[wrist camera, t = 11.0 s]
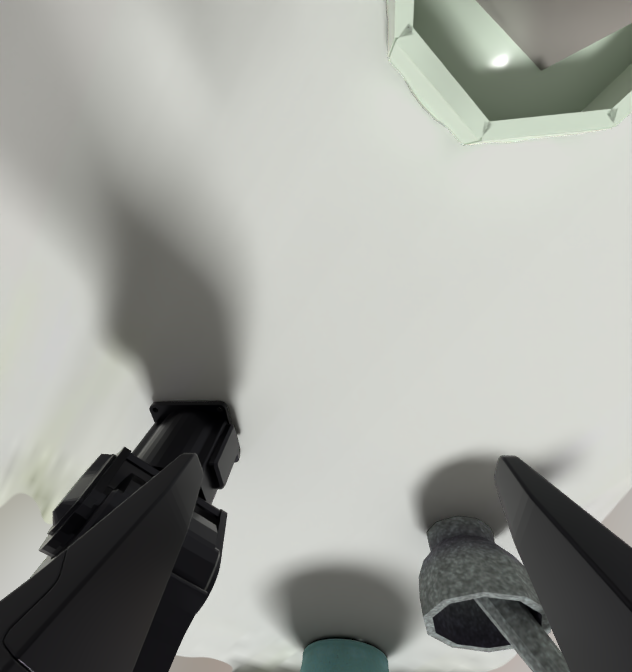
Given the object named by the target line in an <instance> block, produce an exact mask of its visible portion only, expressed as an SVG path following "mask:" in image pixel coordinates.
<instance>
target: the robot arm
mask: <svg viewBox="0 0 632 672" xmlns="http://www.w3.org/2000/svg"><path fill="white" fill-rule="evenodd" d="M219 407H221V408H222V409H221V408H219ZM150 412H151V414H152V417H153V419H154V422H155V423H154V425H153V426H152V427H151V429H150V430H149V431H148V433H147V434H146V435H145V437H144V438H143V439H142V440H141V442H140V443H139V444H138V446H137V447H136V448H135V450H134V451H133V452H132V453H131V450H129V449H127V448H126V447H124V448H123V449H122V450H121V451H120V452H119V453H118V454H117V455H115V454H112V455H109V454H101V455H100V456H99V457H98V458H97V459H96V460H95V462H94V463H93V464H92V465H91V466H90V467H89V468H88V470H87V471H86V472H85V473H84V474H83V475H82V476H81V478H80V479H79V480H78V481H77V482H76V483H75V485H74V486H73V487H72V488H71V490H70V491H69V492H68V493H67V495H66V496H65V497H64V498H63V500H62V501H61V502H60V503H59V504H58V506H57V507H56V508H55V509H54V511H53V526H52V527H51V529H50V530H49V532H48V537H47V538H46V540H45V541H44V543H43V544H42V545H41V547H40V549H39V551H40V552H43V553H45V554H46V555H48V556H47V558H46V559H45V560H44V561H43V563H42V564H41V565H40V566H39V567H38V569H37V570H36V571H35V572H34V574H33V575H32V576H31V577H30V579H29V580H27V581H26V582H25V583H23V584H22V585H21V586H20V587H18V588H17V589H16V590H14V591H13V592H12V593H10V594H9V595H8V596H6V597H5V598H4V599H2V600H1V601H0V672H168V671H169V669H170V667H171V664H172V662H173V660H174V657H175V655H176V653H177V650H178V648H179V646H180V644H181V641H182V639H183V637H184V635H185V633H186V631H187V629H188V627H189V625H190V623H191V622H192V620H193V618H194V616H195V615H196V614H197V612H198V611H199V610H200V608H201V607H202V606H203V604H204V603H205V601H206V599H207V598H208V596H209V594H210V592H211V590H212V588H213V586H214V583H215V581H216V578H217V575H218V572H219V568H220V563H221V556H222V549H223V541H224V534H225V527H226V519H227V513H226V512H225V511H223V510H222V509H220V510H219V509H218V508H216V507H214V506H213V505H211V504H212V502H213V499H214V497H215V494H216V492H217V490H218V489H223V488H224V486H225V485H226V482H227V479H228V477H229V474H230V472H231V469H232V466H233V464H234V462H238V460H239V458H240V453H239V448H240V446H239V442H238V438H237V434H236V431H235V427H234V425H233V424H232V422H231V419H230V415H229V411H228V407H227V405H226V404H225V403H224V402H221V401H210V402H154V403H153V404H152V405H151V406H150ZM494 481H495V485H496V488H497V491H498V494H499V498H500V501H501V504H502V507H503V510H504V513H505V516H506V519H507V523H508V526H509V529H510V532H511V535H512V538H513V541H514V543H515V546H516V548H517V550H518V553H519V555H520V557H521V560H522V562H523V564H524V567H525V569H526V571H527V574H528V576H529V578H530V580H531V583H532V585H533V587H534V590H535V592H536V594H537V597H538V599H539V601H540V604H541V606H542V608H543V610H544V613H545V615H546V617H547V620H548V622H549V624H550V627H551V629H552V631H553V634H554V636H555V638H556V640H557V643H558V645H559V647H560V649H561V652H562V654H563V657H564V659H565V661H566V664H567V666H568V668H569V670H570V672H632V548H631V547H630V546H629V545H628V544H626V543H625V542H624V541H623V540H621V539H620V538H619V537H617V536H616V535H615V534H614V533H612V532H611V531H610V530H609V529H608V528H606V527H605V526H604V525H603V524H601V523H600V522H599V521H597V520H596V519H595V518H594V517H592V516H591V515H590V514H589V513H587V512H586V511H585V510H584V509H582V508H581V507H580V506H579V505H577V504H576V503H575V502H574V501H572V500H571V499H570V498H569V497H567V496H566V495H565V494H564V493H562V492H561V491H560V490H559V489H557V488H556V487H555V486H554V485H552V484H551V483H550V482H548V481H547V480H546V479H545V478H543V477H542V476H541V475H540V474H538V473H537V472H536V471H535V470H533V469H532V468H531V467H530V466H528V465H527V464H526V463H525V462H523V461H522V460H521V459H520V458H518V457H516V456H500V457H499V459H498V463H497V467H496V470H495V475H494Z"/></svg>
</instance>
